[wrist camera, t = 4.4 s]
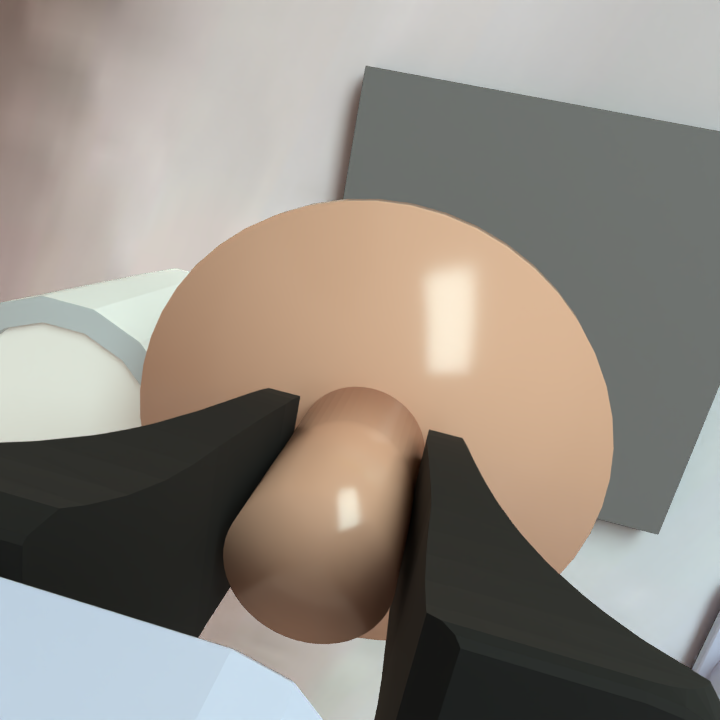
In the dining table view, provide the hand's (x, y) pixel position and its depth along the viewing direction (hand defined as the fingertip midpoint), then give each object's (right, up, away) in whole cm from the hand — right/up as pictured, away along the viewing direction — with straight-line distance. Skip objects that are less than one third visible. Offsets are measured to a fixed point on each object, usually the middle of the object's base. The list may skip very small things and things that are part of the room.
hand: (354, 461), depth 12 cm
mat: (+5, +3, +9) cm, 10 cm away
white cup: (-6, +2, +11) cm, 13 cm away
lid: (0, 0, +1) cm, 1 cm away
